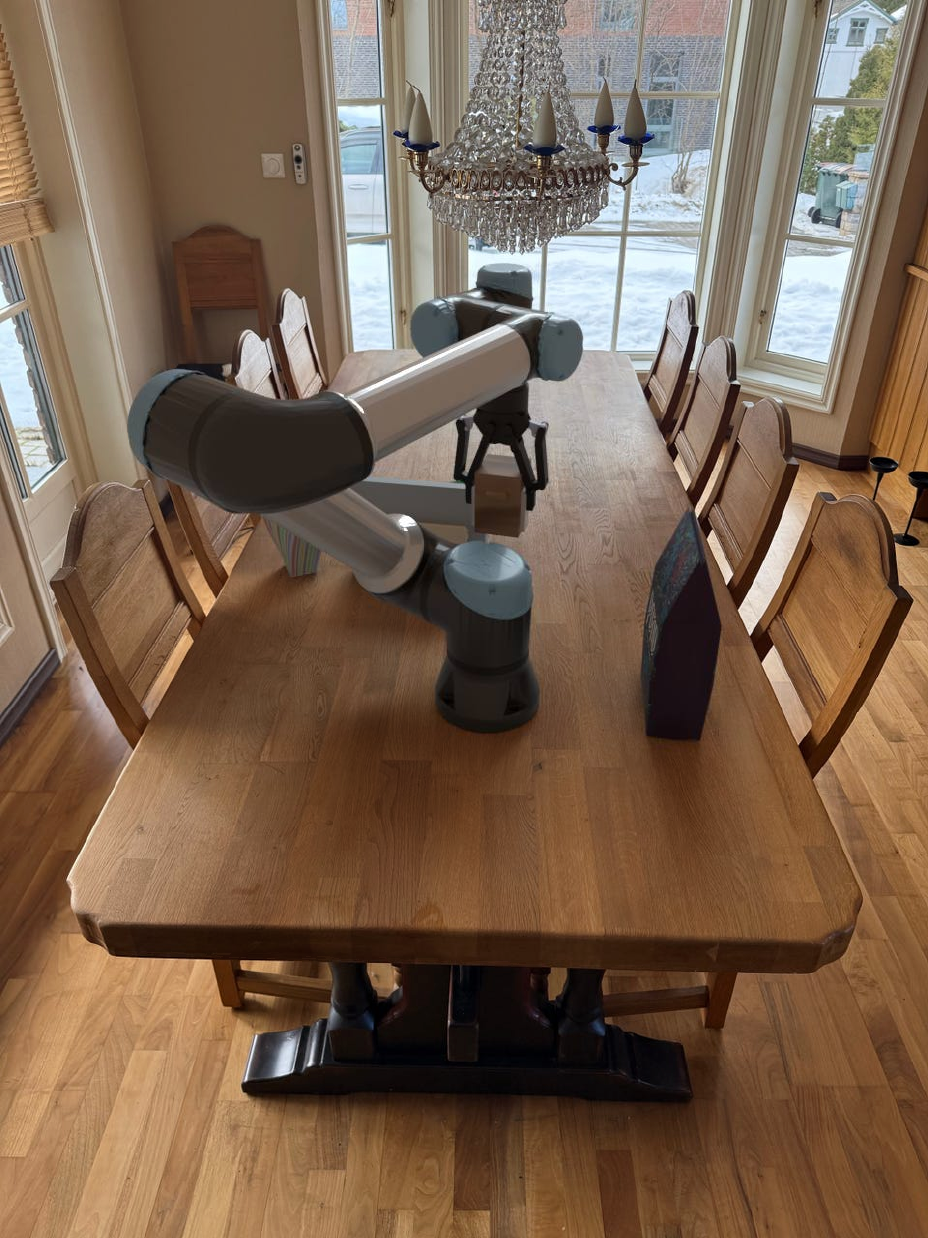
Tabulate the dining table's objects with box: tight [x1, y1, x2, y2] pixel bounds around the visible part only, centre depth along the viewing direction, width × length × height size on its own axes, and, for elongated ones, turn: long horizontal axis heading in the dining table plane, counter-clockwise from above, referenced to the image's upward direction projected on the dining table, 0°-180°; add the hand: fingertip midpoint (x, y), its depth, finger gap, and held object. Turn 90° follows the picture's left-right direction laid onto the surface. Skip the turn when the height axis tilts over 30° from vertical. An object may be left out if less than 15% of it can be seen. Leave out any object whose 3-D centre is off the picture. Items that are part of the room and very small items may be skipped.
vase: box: [259, 515, 323, 578], centre depth 152 cm, size 14×14×30 cm
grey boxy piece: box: [350, 475, 488, 545], centre depth 155 cm, size 11×24×18 cm, turn 79°
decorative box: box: [640, 507, 723, 741], centre depth 119 cm, size 8×16×28 cm, turn 173°
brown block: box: [475, 453, 532, 539], centre depth 136 cm, size 9×7×10 cm
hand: (499, 524), depth 137 cm, fingers closed on brown block, 7 cm apart
